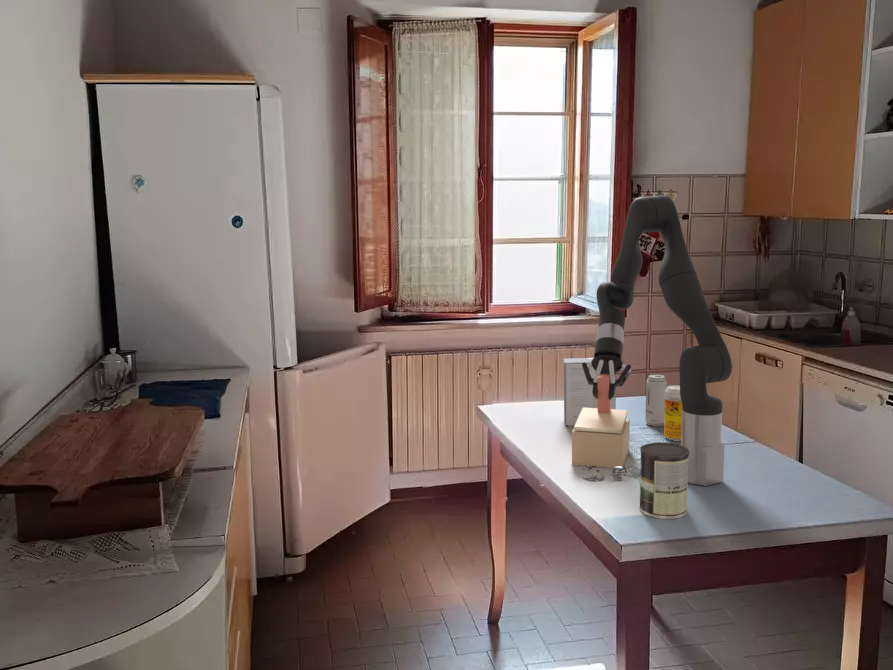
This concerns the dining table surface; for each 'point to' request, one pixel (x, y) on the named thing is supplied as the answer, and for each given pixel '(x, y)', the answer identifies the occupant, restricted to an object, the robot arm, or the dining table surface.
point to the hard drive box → (579, 390)
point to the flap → (601, 413)
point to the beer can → (673, 413)
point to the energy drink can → (655, 400)
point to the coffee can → (664, 480)
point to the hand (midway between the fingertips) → (603, 397)
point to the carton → (600, 448)
